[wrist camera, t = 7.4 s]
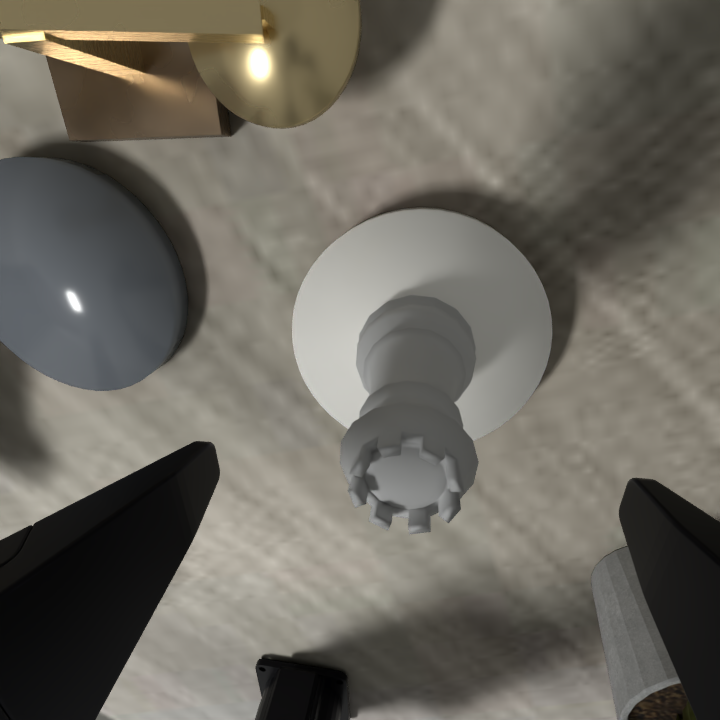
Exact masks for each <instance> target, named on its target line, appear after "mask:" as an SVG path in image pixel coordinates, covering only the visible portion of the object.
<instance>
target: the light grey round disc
mask: <svg viewBox="0 0 720 720" xmlns="http://www.w3.org/2000/svg"><path fill="white" fill-rule="evenodd" d="M409 295H416V296H425V297H435V298H437V299H439V300H441V301H442V302H444V303H446V304H448V305H450V306H452V307H454V308H455V309H457V310H458V312H459V313H460V314H461V315H462V317H463V318H464V319H465V320H466V322H467V323H468V324H469V326H470V327H471V330H472V334H473V338H474V343H475V347H476V350H475V355H476V363H475V367H474V372H473V377H472V380H471V383H470V384H469V386H468V387H467V389H466V390H465V391H464V393H463V394H462V395H461V397H460V398H459V399H458V401H456V402H454V403H455V404H456V406H457V407H458V408H459V411H460V415H461V418H462V422H463V429H464V430H465V432H466V433H467V434H468V435H469V436H470V437H471V439H472V440H473V441H474V440H476V439H478V438H481V437H483V436H485V435H487V434H489V433H490V432H492V431H494V430H495V429H497V428H499V427H500V426H501V425H503V424H504V423H505V422H507V421H508V420H509V419H511V418H512V417H513V416H514V415H515V414H516V413H517V412H518V411H519V410H520V409H521V408H522V407H523V406H524V404H525V403H526V402H527V401H528V399H529V398H530V397H531V396H532V394H533V393H534V391H535V389H536V388H537V386H538V384H539V383H540V381H541V378H542V376H543V374H544V371H545V369H546V366H547V362H548V359H549V355H550V351H551V342H552V317H551V312H550V306H549V301H548V298H547V296H546V293H545V290H544V287H543V285H542V283H541V281H540V279H539V277H538V275H537V273H536V272H535V270H534V268H533V267H532V266H531V264H530V263H529V262H528V260H527V259H526V258H525V256H524V255H523V254H522V253H521V252H520V251H519V250H518V249H517V248H516V247H515V246H514V245H513V244H512V243H511V242H510V241H509V240H508V239H506V238H505V237H504V236H503V235H502V234H500V233H499V232H497V231H496V230H495V229H493V228H492V227H490V226H489V225H487V224H485V223H483V222H481V221H479V220H477V219H475V218H473V217H470V216H467V215H465V214H462V213H459V212H455V211H450V210H445V209H440V208H426V207H418V208H405V209H399V210H395V211H390V212H386V213H383V214H380V215H378V216H375V217H372V218H370V219H368V220H366V221H364V222H362V223H360V224H358V225H356V226H355V227H353V228H352V229H350V230H349V231H348V232H346V233H345V234H344V235H342V236H341V237H339V238H338V239H337V240H335V241H334V242H333V243H332V244H331V245H330V246H329V247H328V248H327V249H326V250H325V251H324V252H323V253H322V254H321V255H320V256H319V258H318V259H317V260H316V261H315V263H314V264H313V265H312V267H311V268H310V270H309V272H308V273H307V275H306V277H305V279H304V280H303V283H302V285H301V288H300V290H299V293H298V295H297V299H296V303H295V307H294V311H293V321H292V341H293V347H294V353H295V358H296V361H297V364H298V367H299V370H300V372H301V375H302V377H303V379H304V381H305V383H306V385H307V387H308V388H309V390H310V392H311V393H312V395H313V396H314V397H315V399H316V400H317V401H318V402H319V404H320V405H321V406H322V407H323V408H324V409H325V410H326V411H327V412H328V413H329V414H330V415H331V416H332V417H333V418H334V419H336V420H337V421H338V422H339V423H341V424H342V425H343V426H345V427H346V428H348V429H349V428H350V426H351V424H352V423H353V422H354V421H356V420H357V419H359V413H360V410H361V408H362V406H363V405H364V403H365V401H366V400H367V398H368V396H369V393H368V392H367V391H366V390H365V389H364V387H363V384H362V381H361V378H360V376H359V373H358V370H357V367H356V356H357V344H358V342H359V334H360V332H361V330H362V328H363V327H364V325H365V323H366V321H367V319H368V317H369V315H371V314H372V313H373V312H375V311H376V310H377V309H378V308H380V307H381V306H382V305H384V304H385V303H386V302H387V301H391V300H394V299H398V298H401V297H405V296H409Z"/></svg>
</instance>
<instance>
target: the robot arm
mask: <svg viewBox="0 0 720 720" xmlns="http://www.w3.org/2000/svg"><path fill="white" fill-rule="evenodd" d="M219 476H220V468H219V464H218V459H217V454H216V449H215V446H214V444H213V443H211V442H202V441H195V442H193V443H191V444H189V445H187V446H185V447H183V448H181V449H179V450H177V451H175V452H173V453H171V454H169V455H167V456H165V457H163V458H161V459H159V460H157V461H155V462H153V463H152V464H150V465H148V466H146V467H144V468H142V469H140V470H138V471H136V472H134V473H132V474H130V475H128V476H126V477H124V478H122V479H120V480H118V481H116V482H114V483H112V484H110V485H108V486H106V487H104V488H103V489H101V490H99V491H97V492H95V493H93V494H91V495H89V496H87V497H85V498H83V499H81V500H79V501H77V502H75V503H73V504H71V505H69V506H67V507H65V508H63V509H61V510H59V511H57V512H55V513H54V514H52V515H50V516H48V517H46V518H44V519H42V520H40V521H38V522H36V523H35V524H34V525H33V526H32V525H30V526H28V527H26V528H24V529H22V530H20V531H18V532H16V533H14V534H12V535H10V536H8V537H6V538H4V539H2V540H0V720H95V719H96V718H97V716H98V714H99V712H100V710H101V708H102V707H103V705H104V703H105V701H106V699H107V697H108V696H109V694H110V692H111V690H112V688H113V686H114V685H115V683H116V681H117V679H118V677H119V675H120V674H121V672H122V670H123V668H124V666H125V664H126V663H127V661H128V659H129V657H130V655H131V653H132V652H133V650H134V648H135V646H136V644H137V642H138V641H139V639H140V637H141V635H142V633H143V631H144V630H145V628H146V626H147V624H148V622H149V620H150V619H151V617H152V615H153V613H154V611H155V609H156V608H157V606H158V604H159V602H160V600H161V598H162V597H163V595H164V593H165V591H166V589H167V587H168V586H169V584H170V582H171V580H172V578H173V576H174V575H175V573H176V571H177V569H178V567H179V565H180V564H181V562H182V560H183V558H184V556H185V554H186V553H187V551H188V549H189V547H190V545H191V543H192V541H193V539H194V537H195V535H196V533H197V530H198V528H199V526H200V523H201V521H202V519H203V516H204V514H205V511H206V509H207V507H208V504H209V502H210V499H211V497H212V495H213V492H214V490H215V488H216V485H217V483H218V480H219ZM619 518H620V522H621V526H622V529H623V532H624V535H625V539H626V542H627V545H628V548H629V552H630V555H631V558H632V561H633V564H634V568H635V571H636V574H637V577H638V581H639V584H640V587H641V590H642V592H643V595H644V598H645V600H646V603H647V605H648V608H649V610H650V612H651V615H652V617H653V619H654V622H655V624H656V626H657V629H658V631H659V633H660V636H661V638H662V640H663V643H664V645H665V647H666V650H667V652H668V654H669V657H670V659H671V661H672V664H673V666H674V668H675V671H676V673H677V675H678V678H679V680H680V682H681V685H682V687H683V689H684V692H685V694H686V696H687V699H688V701H689V703H690V706H691V708H692V710H693V713H694V715H695V717H696V720H720V522H719V521H717V520H716V519H714V518H713V517H711V516H710V515H708V514H706V513H705V512H703V511H702V510H700V509H699V508H697V507H696V506H694V505H693V504H691V503H690V502H688V501H687V500H685V499H683V498H682V497H680V496H679V495H677V494H676V493H674V492H673V491H671V490H670V489H668V488H667V487H665V486H664V485H662V484H660V483H659V482H657V481H656V480H653V479H643V478H632V479H630V480H629V481H628V483H627V486H626V489H625V492H624V495H623V498H622V501H621V504H620V508H619ZM256 673H257V677H258V682H259V687H260V691H261V696H262V699H261V702H260V705H259V708H258V711H257V715H256V718H255V720H350V709H349V692H348V677H347V675H346V674H345V673H343V672H340V671H334V670H328V669H322V668H316V667H310V666H304V665H298V664H291V663H285V662H279V661H273V660H267V659H259V660H258V661H257V664H256Z"/></svg>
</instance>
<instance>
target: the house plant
mask: <svg viewBox="0 0 720 720" xmlns="http://www.w3.org/2000/svg"><path fill="white" fill-rule="evenodd" d="M591 586H592V591H593V596H594V601H595V607H596V612H597V617H598V622H599V627H600V632H601V637H602V642H603V648H604V653H605V658H606V663H607V668H608V673H609V678H610V684H611V689H612V694H613V699H614V704H615V709H616V714H617V719H618V720H696V717H695V715H694V713H693V710H692V708H691V706H690V703H689V701H688V699H687V696H686V694H685V692H684V689H683V687H682V685H681V682H680V680H679V678H678V675H677V673H676V671H675V668H674V666H673V664H672V661H671V659H670V657H669V654H668V652H667V650H666V647H665V645H664V643H663V640H662V638H661V636H660V633H659V631H658V629H657V626H656V624H655V622H654V619H653V617H652V615H651V612H650V610H649V608H648V605H647V603H646V600H645V598H644V595H643V592H642V590H641V587H640V584H639V581H638V577H637V574H636V571H635V568H634V564H633V561H632V558H631V555H630V552H629V548H628V546H627V547H624V548H621V549H619V550H616V551H614V552H612V553H611V554H609V555H607V556H606V557H604V558H603V559H602V560H601V561H600V562H599V563H598V564H597V565H596V567H595V569H594V571H593V573H592V577H591Z"/></svg>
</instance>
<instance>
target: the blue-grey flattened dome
mask: <svg viewBox="0 0 720 720" xmlns="http://www.w3.org/2000/svg"><path fill="white" fill-rule="evenodd" d="M187 315H188V296H187V289H186V282H185V278H184V275H183V271H182V267H181V265H180V262H179V260H178V257H177V254H176V252H175V250H174V248H173V246H172V244H171V242H170V240H169V238H168V237H167V235H166V234H165V232H164V230H163V229H162V227H161V226H160V224H159V223H158V221H157V220H156V219H155V218H154V216H153V215H152V214H151V213H150V211H149V210H148V209H147V208H146V207H145V206H144V205H143V204H142V203H141V202H140V201H139V200H138V199H137V198H136V197H135V196H134V195H133V194H132V193H131V192H129V191H128V190H127V189H126V188H125V187H123V186H122V185H121V184H119V183H118V182H116V181H115V180H113V179H112V178H110V177H109V176H107V175H106V174H104V173H102V172H100V171H98V170H96V169H94V168H92V167H89V166H87V165H84V164H81V163H78V162H75V161H70V160H66V159H61V158H40V157H13V158H5V159H1V160H0V341H1V342H2V343H3V344H4V345H5V346H6V347H7V348H8V349H10V350H11V351H12V352H13V353H14V354H15V355H17V356H18V357H19V358H20V359H21V360H23V361H24V362H26V363H27V364H28V365H30V366H31V367H33V368H34V369H36V370H38V371H39V372H41V373H43V374H44V375H46V376H48V377H50V378H53V379H55V380H57V381H59V382H62V383H65V384H67V385H70V386H74V387H78V388H82V389H87V390H95V391H109V390H117V389H122V388H125V387H128V386H131V385H133V384H135V383H137V382H140V381H141V380H143V379H144V378H145V377H147V376H148V375H150V374H151V373H152V372H154V371H155V370H156V369H158V368H159V367H160V366H162V365H163V364H165V363H166V362H167V361H168V359H169V358H170V357H171V356H172V355H173V354H174V352H175V351H176V349H177V348H178V346H179V344H180V342H181V340H182V337H183V335H184V331H185V328H186V323H187Z"/></svg>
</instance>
